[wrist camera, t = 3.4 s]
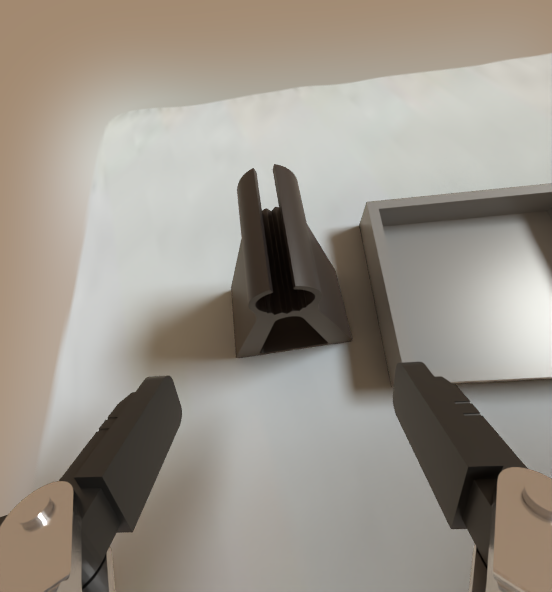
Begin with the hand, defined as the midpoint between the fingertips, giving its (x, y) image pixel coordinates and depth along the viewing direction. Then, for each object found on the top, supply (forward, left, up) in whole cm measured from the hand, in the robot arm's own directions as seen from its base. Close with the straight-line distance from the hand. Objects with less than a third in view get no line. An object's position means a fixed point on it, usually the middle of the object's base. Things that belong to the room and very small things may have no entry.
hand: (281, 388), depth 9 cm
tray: (-15, -7, -10) cm, 20 cm away
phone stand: (0, -6, -11) cm, 12 cm away
